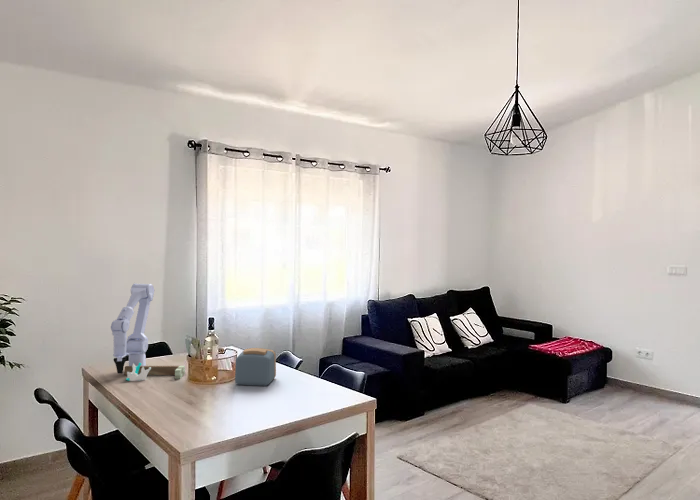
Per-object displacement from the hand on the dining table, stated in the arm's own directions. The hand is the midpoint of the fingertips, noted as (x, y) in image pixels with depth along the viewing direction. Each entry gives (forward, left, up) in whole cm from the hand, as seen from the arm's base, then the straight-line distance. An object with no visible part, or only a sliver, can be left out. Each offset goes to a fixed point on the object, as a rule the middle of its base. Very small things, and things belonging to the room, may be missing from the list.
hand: (120, 373), depth 256 cm
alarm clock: (+8, +65, -3) cm, 66 cm away
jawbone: (+2, +8, -3) cm, 9 cm away
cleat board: (-3, +14, -2) cm, 15 cm away
